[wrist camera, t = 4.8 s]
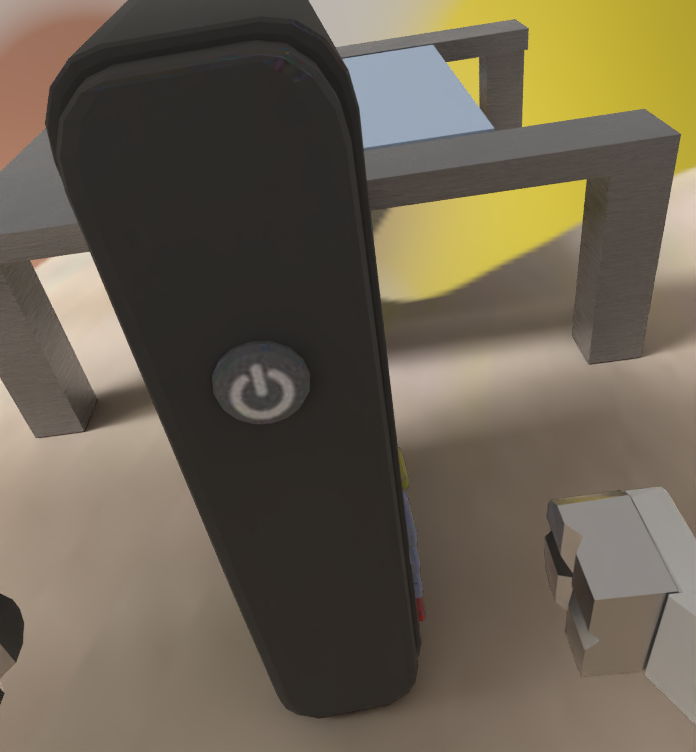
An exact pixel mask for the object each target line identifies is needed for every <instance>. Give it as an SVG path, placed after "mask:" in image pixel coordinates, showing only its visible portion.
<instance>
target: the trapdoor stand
mask: <svg viewBox="0 0 696 752" xmlns="http://www.w3.org/2000/svg"><path fill="white" fill-rule="evenodd" d="M528 30H529V29H528V28H527V27H526V26H524V25H523V24H521V23H520V22H519V21H517V20H515V19H514V20H507V21H501V22H495V23H488V24H482V25H475V26H469V27H463V28H457V29H450V30H444V31H438V32H431V33H424V34H418V35H412V36H405V37H399V38H393V39H386V40H380V41H373V42H367V43H361V44H355V45H348V46H342V47H336V49H337V51H338V53H339V54H340V56H341V58H342V59H344V58H351V57H357V56H363V55H370V54H376V53H383V52H389V51H395V50H402V49H408V48H415V47H421V46H428V45H433V46H434V47H435V48H436V50H437V51H438V52H439V54H440V55H441V56H442V58H443V59H444V60H445V62H450V61H457V60H463V59H469V58H476V57H479V93H480V94H479V96H480V98H479V99H480V109H481V111H482V112H483V113H484V115H485V116H486V118H487V119H488V120H489V122H490V123H491V124H492V126H493V127H494V131H493V132H487V133H480V134H473V135H467V136H460V137H453V138H447V139H440V140H433V141H427V142H420V143H413V144H407V145H400V146H393V147H387V148H380V149H373V150H366V151H364V157H365V167H366V177H367V187H368V196H369V204H370V211H371V210H378V209H385V208H392V207H398V206H405V205H412V204H419V203H425V202H433V201H440V200H446V199H453V198H460V197H467V196H473V195H480V194H488V193H494V192H501V191H508V190H515V189H522V188H528V187H536V186H542V185H548V184H556V183H563V182H570V181H576V180H583V179H587V184H586V193H585V203H584V214H583V224H582V235H581V245H580V255H579V266H578V276H577V287H576V297H575V307H574V318H573V328H572V336H573V338H574V340H575V341H576V343H577V345H578V347H579V348H580V350H581V352H582V354H583V355H584V357H585V359H586V361H587V362H588V364H592V363H600V362H607V361H615V360H622V359H630V358H637V357H641V353H642V348H643V342H644V336H645V331H646V325H647V320H648V314H649V309H650V303H651V298H652V292H653V286H654V281H655V275H656V270H657V264H658V259H659V253H660V248H661V242H662V236H663V231H664V225H665V220H666V214H667V209H668V203H669V198H670V192H671V186H672V181H673V175H674V170H675V164H676V159H677V153H678V148H679V142H680V136H681V134H680V133H678V132H677V131H676V130H674V129H673V128H671V127H670V126H669V125H667V124H666V123H664V122H663V121H661V120H660V119H659V118H657V117H656V116H654V115H653V114H651V113H650V112H648V111H647V110H645V109H640V110H634V111H627V112H621V113H614V114H607V115H600V116H594V117H587V118H580V119H574V120H567V121H561V122H554V123H547V124H540V125H533V126H528V127H522V104H523V73H524V50H527V49H528ZM83 252H89V248H88V246H87V243H86V241H85V239H84V236H83V234H82V231H81V229H80V227H79V224H78V222H77V219H76V217H75V215H74V212H73V210H72V207H71V205H70V203H69V200H68V198H67V195H66V193H65V190H64V186H63V182H62V180H61V177H60V175H59V172H58V170H57V168H56V165H55V163H54V159H53V155H52V151H51V147H50V142H49V138H48V134H47V130H46V128H45V129H44V130H43V131H42V132H41V133H40V134H39V135H38V136H37V137H36V138H35V139H34V140H33V141H32V142H31V143H30V144H29V145H28V146H27V147H26V148H24V150H23V151H21V152H20V153H19V154H18V155H17V156H16V157H15V158H14V159H13V160H12V161H11V162H10V163H9V164H8V165H7V166H6V167H5V168H4V169H3V170H2V171H1V172H0V378H1V380H2V381H3V383H4V385H5V386H6V388H7V390H8V392H9V393H10V395H11V397H12V398H13V400H14V402H15V403H16V405H17V407H18V409H19V410H20V412H21V414H22V415H23V417H24V419H25V420H26V422H27V424H28V426H29V427H30V429H31V431H32V432H33V434H34V436H35V437H36V438H38V437H46V436H53V435H61V434H68V433H76V432H83V431H85V428H86V426H87V423H88V421H89V418H90V416H91V414H92V411H93V409H94V406H95V404H96V401H97V398H96V396H95V394H94V392H93V390H92V388H91V385H90V383H89V381H88V379H87V377H86V375H85V373H84V371H83V369H82V367H81V365H80V363H79V361H78V359H77V357H76V354H75V352H74V350H73V348H72V346H71V344H70V342H69V340H68V338H67V336H66V334H65V332H64V330H63V328H62V326H61V324H60V321H59V319H58V317H57V315H56V313H55V311H54V309H53V307H52V305H51V303H50V301H49V299H48V297H47V295H46V293H45V290H44V288H43V286H42V284H41V282H40V280H39V278H38V276H37V274H36V272H35V270H34V268H33V266H32V264H31V262H30V260H34V259H41V258H48V257H55V256H62V255H69V254H76V253H83Z"/></svg>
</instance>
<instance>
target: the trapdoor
mask: <svg viewBox="0 0 696 752" xmlns="http://www.w3.org/2000/svg"><path fill="white" fill-rule="evenodd" d="M342 60H343V61H344V63H345V65H346V67H347V68H348V70H349V73H350V77H351V80H352V84H353V87H354V91H355V94H356V98H357V101H358V105H359V109H360V118H361V128H362V138H363V148H364V151H366V150H373V149H380V148H387V147H393V146H400V145H407V144H413V143H420V142H427V141H433V140H440V139H447V138H453V137H460V136H467V135H473V134H480V133H487V132H493V131H494V127H493V126H492V124H491V123H490V122H489V120H488V119H487V118H486V116H485V115H484V113H483V112H482V111H481V109H480V108H479V107H478V105H477V104H476V103H475V101H474V100H473V99H472V97H471V96H470V94H469V93H468V92H467V90H466V89H465V88H464V86H463V85H462V84H461V82H460V81H459V79H458V78H457V77H456V76H455V74H454V73H453V71H452V70H451V69H450V67H449V66H448V65H447V63H446V62H445V60H444V59H443V58H442V56H441V55H440V54H439V52H438V51H437V50H436V48H435V47H434V46H433V45H428V46H421V47H415V48H408V49H402V50H395V51H389V52H383V53H376V54H370V55H363V56H357V57H351V58H344V59H342Z"/></svg>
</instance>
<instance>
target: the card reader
mask: <svg viewBox="0 0 696 752" xmlns="http://www.w3.org/2000/svg"><path fill="white" fill-rule="evenodd" d="M45 125H46V130H47V134H48V138H49V142H50V147H51V151H52V155H53V159H54V163H55V165H56V168H57V170H58V172H59V175H60V177H61V180H62V182H63V186H64V190H65V193H66V195H67V198H68V200H69V203H70V205H71V207H72V210H73V212H74V215H75V217H76V219H77V222H78V224H79V227H80V229H81V231H82V234H83V236H84V239H85V241H86V243H87V246H88V248H89V251H90V253H91V255H92V258H93V260H94V263H95V265H96V267H97V270H98V272H99V275H100V277H101V279H102V282H103V284H104V287H105V289H106V291H107V294H108V296H109V299H110V301H111V303H112V306H113V308H114V311H115V313H116V315H117V318H118V320H119V323H120V325H121V327H122V330H123V332H124V334H125V337H126V339H127V342H128V344H129V346H130V349H131V351H132V354H133V356H134V358H135V361H136V363H137V366H138V368H139V370H140V373H141V375H142V377H143V380H144V382H145V385H146V387H147V389H148V392H149V394H150V397H151V399H152V401H153V404H154V406H155V408H156V411H157V413H158V416H159V418H160V420H161V423H162V425H163V428H164V430H165V432H166V435H167V437H168V440H169V442H170V444H171V447H172V449H173V451H174V454H175V456H176V459H177V461H178V463H179V466H180V468H181V471H182V473H183V475H184V478H185V480H186V483H187V485H188V487H189V490H190V492H191V494H192V497H193V499H194V502H195V504H196V506H197V509H198V511H199V514H200V516H201V518H202V521H203V523H204V525H205V528H206V530H207V533H208V535H209V537H210V540H211V542H212V545H213V547H214V549H215V552H216V554H217V557H218V559H219V561H220V564H221V566H222V568H223V571H224V573H225V576H226V578H227V580H228V583H229V585H230V588H231V590H232V592H233V595H234V597H235V599H236V601H237V604H238V606H239V608H240V611H241V613H242V615H243V617H244V620H245V622H246V624H247V627H248V629H249V631H250V634H251V636H252V638H253V640H254V643H255V645H256V647H257V650H258V652H259V654H260V656H261V659H262V661H263V663H264V666H265V668H266V670H267V673H268V675H269V677H270V679H271V682H272V684H273V686H274V689H275V691H276V693H277V695H278V697H279V699H280V701H281V702H282V703H283V704H284V706H285V707H286V708H287V709H288V710H290V711H292V712H294V713H296V714H299V715H304V716H309V717H315V718H323V717H328V716H334V715H339V714H344V713H349V712H354V711H359V710H364V709H369V708H374V707H379V706H384V705H389V704H391V703H393V702H394V701H396V700H397V699H399V698H400V697H402V696H403V695H405V694H406V693H408V692H409V690H410V689H411V688H412V686H413V685H414V684H415V679H416V674H417V668H418V662H417V657H418V655H419V653H420V647H421V636H420V628H419V621H423V620H425V617H426V614H425V607H424V603H423V599H422V596H423V586H422V581H421V577H420V573H419V572H420V569H421V567H420V559H419V555H418V551H417V547H416V545H417V543H418V538H417V531H416V527H415V523H414V519H413V516H412V512H411V508H410V504H409V501H408V497H407V494H406V492H405V491H403V489H406V488H408V487H409V478H408V473H407V470H406V466H405V463H404V459H403V455H402V452H401V449H400V448H399V447H398V446H397V437H396V429H395V420H394V411H393V403H392V394H391V385H390V377H389V368H388V360H387V351H386V342H385V334H384V325H383V316H382V308H381V299H380V291H379V283H378V273H377V265H376V256H375V248H374V239H373V230H372V222H371V213H370V204H369V196H368V187H367V177H366V167H365V157H364V148H363V138H362V128H361V118H360V109H359V105H358V101H357V98H356V94H355V91H354V87H353V84H352V80H351V77H350V73H349V70H348V68H347V67H346V65H345V63H344V61H343V60H342V58H341V56H340V54H339V53H338V51H337V49H336V47H335V46H334V44H333V42H332V41H331V39H330V37H329V35H328V34H327V32H326V30H325V28H324V27H323V25H322V23H321V21H320V20H319V18H318V16H317V15H316V13H315V11H314V9H313V8H312V6H311V4H310V3H309V1H308V0H128V1H127V2H126V3H125V4H124V5H123V6H122V7H121V8H120V9H119V10H118V11H117V12H116V13H115V14H114V15H113V16H112V17H111V18H109V20H107V22H105V23H104V24H103V25H102V27H100V28H99V29H98V30H97V31H96V32H95V33H94V34H93V35H92V36H91V37H90V38H89V39H88V40H87V41H86V42H85V43H84V44H83V45H82V46H81V47H80V48H79V49H78V50H77V51H76V52H75V53H74V54H73V55H72V56H71V57H70V58H69V59H68V61H67V62H66V64H65V65H64V67H63V68H62V70H61V71H60V73H59V74H58V76H57V77H56V79H55V80H54V82H53V83H52V85H51V86H50V90H49V98H48V105H47V113H46V121H45Z"/></svg>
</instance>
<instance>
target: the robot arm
mask: <svg viewBox="0 0 696 752" xmlns="http://www.w3.org/2000/svg"><path fill="white" fill-rule="evenodd" d="M547 519H548V522H549V524H550V527H551V530H552V531H551V532H550V533H549V534H548V535H547V536H546V537H545V546H544V555H545V564H546V572H547V576H548V580H549V584H550V587H551V590H552V593H553V597H554V600H555V602H556V603H557V604H558V605H560V606H561V607H562V608H563V609H564V610H566V611H567V619H566V627H565V633H566V636H567V638H568V641H569V644H570V647H571V650H572V653H573V656H574V659H575V662H576V665H577V667H578V670H579V673H580V676H581V677H586V676H598V675H611V674H623V673H636V672H645V676H646V677H647V678H648V679H649V680H650V681H651V682H652V683H653V684H654V685H655V686H656V687H657V688H658V689H659V690H660V691H661V692H662V693H663V694H664V695H665V696H666V697H667V698H668V699H669V700H670V701H671V702H672V703H673V704H674V705H675V706H676V707H677V708H678V709H679V710H680V711H681V712H682V713H683V714H684V715H686V716H687V717H688V718H689V719H690V720H691V721H692V722H693V723H694V724H695V725H696V538H695V537H694V535H693V533H692V532H691V530H690V528H689V527H688V525H687V523H686V521H685V520H684V518H683V516H682V515H681V513H680V511H679V510H678V508H677V506H676V504H675V503H674V501H673V499H672V498H671V496H670V494H669V493H668V491H666V490H665V489H664V488H663V487H661V486H659V487H650V488H641V489H633V490H625V491H620V490H618V491H611V492H603V493H596V494H588V495H581V496H573V497H566V498H558V499H551V501H550V502H549V504H548V511H547ZM23 631H24V621H23V618H22V615H21V611H20V609H19V607H18V606H17V605H16V603H15V602H14V601H13V599H11V598H8V597H6V596H4V595H2V594H0V678H1V677H2V676H3V675H4V674H5V673H6V672H7V671H8V670H9V669H10V668H11V667H12V666H13V665H14V664H15V663H16V661H17V658H18V656H19V653H20V650H21V647H22V644H23ZM3 696H4V690H3V687H2V684H1V680H0V704H1V701H2V699H3Z"/></svg>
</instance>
